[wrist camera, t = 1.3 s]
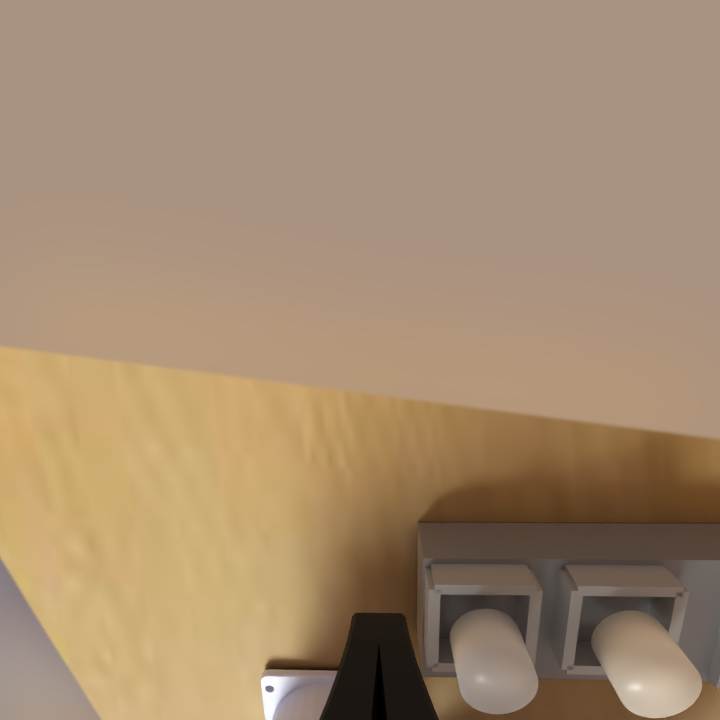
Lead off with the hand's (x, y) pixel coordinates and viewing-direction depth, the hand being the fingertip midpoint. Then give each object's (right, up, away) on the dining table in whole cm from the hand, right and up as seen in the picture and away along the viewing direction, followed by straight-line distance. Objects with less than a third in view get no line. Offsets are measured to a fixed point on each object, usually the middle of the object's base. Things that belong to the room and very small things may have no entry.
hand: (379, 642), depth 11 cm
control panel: (+12, -4, +10) cm, 16 cm away
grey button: (+5, -4, +6) cm, 9 cm away
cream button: (+11, -4, +6) cm, 13 cm away
